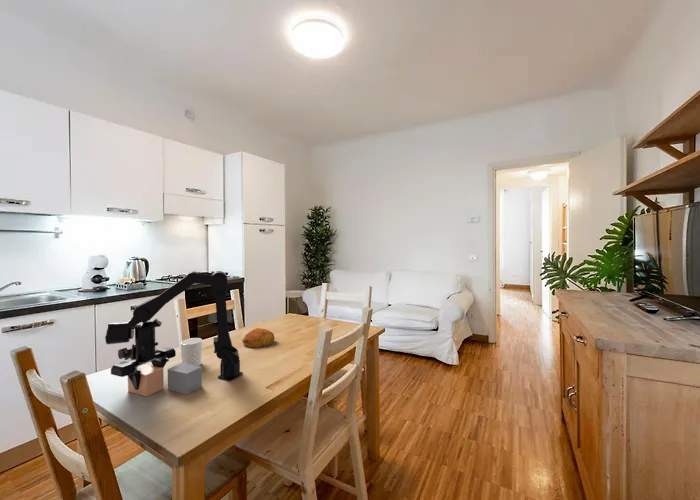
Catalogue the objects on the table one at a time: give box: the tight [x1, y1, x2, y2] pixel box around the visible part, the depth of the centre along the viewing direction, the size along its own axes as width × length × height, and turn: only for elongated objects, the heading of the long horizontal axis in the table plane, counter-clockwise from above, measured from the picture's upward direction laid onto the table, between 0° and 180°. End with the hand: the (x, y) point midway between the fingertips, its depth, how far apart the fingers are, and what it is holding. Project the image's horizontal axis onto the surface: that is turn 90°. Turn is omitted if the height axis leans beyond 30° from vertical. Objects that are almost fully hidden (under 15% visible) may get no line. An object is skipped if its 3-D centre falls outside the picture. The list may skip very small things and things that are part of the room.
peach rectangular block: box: [127, 363, 165, 397], centre depth 103 cm, size 9×6×7 cm, turn 69°
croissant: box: [242, 327, 275, 349], centre depth 151 cm, size 14×16×8 cm
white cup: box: [180, 337, 203, 366], centre depth 124 cm, size 8×8×10 cm
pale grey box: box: [167, 362, 203, 395], centre depth 105 cm, size 9×6×7 cm, turn 69°
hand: (146, 385), depth 103 cm, fingers closed on peach rectangular block, 6 cm apart
